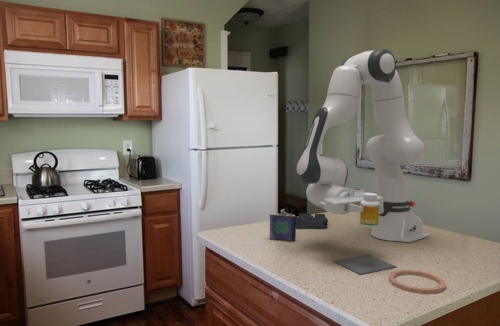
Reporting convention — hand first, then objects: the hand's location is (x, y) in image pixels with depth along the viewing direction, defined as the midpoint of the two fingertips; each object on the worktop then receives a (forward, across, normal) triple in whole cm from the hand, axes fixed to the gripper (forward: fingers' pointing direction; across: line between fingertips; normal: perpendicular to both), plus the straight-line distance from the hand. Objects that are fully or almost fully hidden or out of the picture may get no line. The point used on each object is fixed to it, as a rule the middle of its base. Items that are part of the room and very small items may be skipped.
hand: (371, 208), depth 121 cm
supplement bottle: (-1, 0, +6) cm, 6 cm away
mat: (-2, 0, +18) cm, 18 cm away
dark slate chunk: (-52, +10, +19) cm, 56 cm away
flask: (-36, -9, +18) cm, 41 cm away
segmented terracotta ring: (+15, +3, +18) cm, 24 cm away
